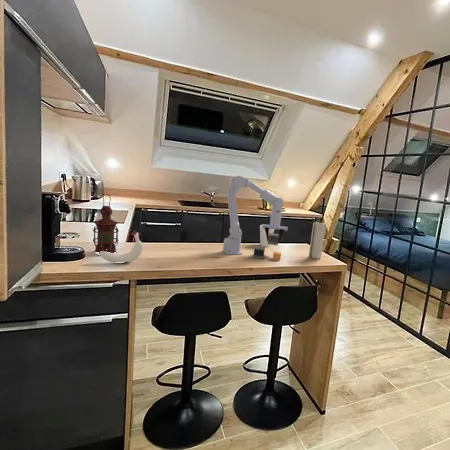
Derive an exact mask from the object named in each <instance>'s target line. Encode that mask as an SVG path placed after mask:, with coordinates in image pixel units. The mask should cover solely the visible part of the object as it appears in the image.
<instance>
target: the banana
mask: <svg viewBox="0 0 450 450" xmlns="http://www.w3.org/2000/svg"><path fill="white" fill-rule="evenodd" d="M134 239H135V242H134V246H133V248H132V249H131V250H130V251H129V252H127V253H124V254H123V253H122V254H118V253H116V254H113V253H110V252H105V251H100V253H99V254H100V255H99V256H100V257H101V258H102V259H104V260H105V261H107V262H110V263H112V262H129V263H132V262H134V261H135V260H137V259H138V258H139V257H140V255H141V254H142V252H143V250H144V245H143V243H142V241H141V240H140V239H139V232H136V234H134Z"/></svg>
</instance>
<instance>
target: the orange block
mask: <svg viewBox="0 0 450 450" xmlns="http://www.w3.org/2000/svg"><path fill="white" fill-rule="evenodd" d="M281 255H282V252H281V251H275V250H274V251H273V254H272V261H279V262H280V261H281V257H282V256H281Z"/></svg>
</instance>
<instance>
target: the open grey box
mask: <svg viewBox="0 0 450 450" xmlns="http://www.w3.org/2000/svg"><path fill="white" fill-rule="evenodd" d="M278 239H279V233H274V232H273V233H269V236H268V244H270V246H278V245H279V242H278Z"/></svg>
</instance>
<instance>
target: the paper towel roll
mask: <svg viewBox="0 0 450 450" xmlns="http://www.w3.org/2000/svg"><path fill="white" fill-rule="evenodd" d="M326 224H327V223H326V222H321V221H320V222H319V221H314V222H313V223H312V229H311V237H310V243H309V244H310V245H309V250H308V258H312V259H316V260H317V259H318V260H319V259H322V252H323V246H324V241H325V240H324V239H325V233H326V227H327V225H326Z"/></svg>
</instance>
